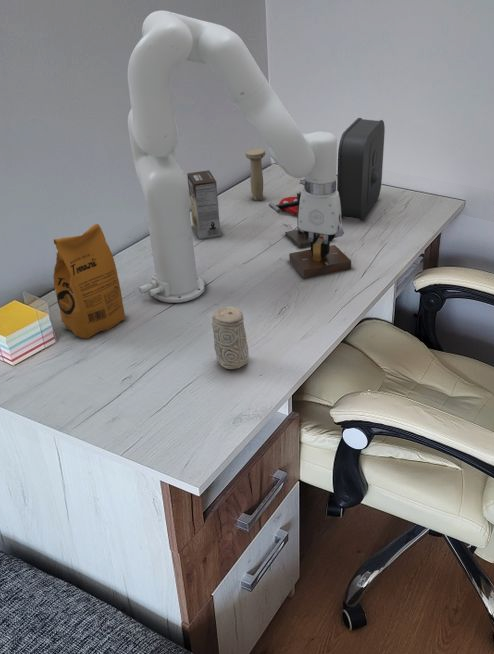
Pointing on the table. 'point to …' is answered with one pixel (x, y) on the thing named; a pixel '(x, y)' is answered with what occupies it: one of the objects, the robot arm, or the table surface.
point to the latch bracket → (299, 233)
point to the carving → (230, 337)
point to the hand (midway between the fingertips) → (319, 254)
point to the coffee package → (87, 284)
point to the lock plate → (327, 265)
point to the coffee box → (204, 204)
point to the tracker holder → (290, 209)
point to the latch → (284, 205)
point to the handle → (256, 172)
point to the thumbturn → (317, 249)
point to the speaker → (360, 167)
